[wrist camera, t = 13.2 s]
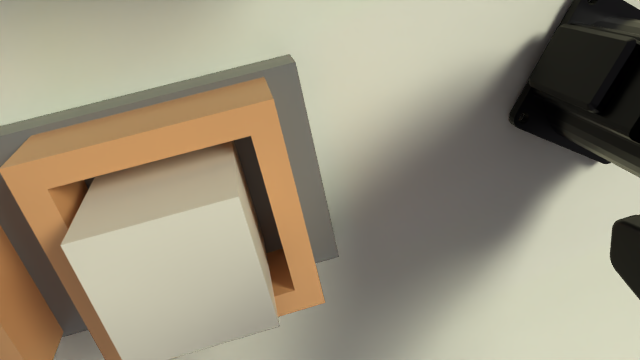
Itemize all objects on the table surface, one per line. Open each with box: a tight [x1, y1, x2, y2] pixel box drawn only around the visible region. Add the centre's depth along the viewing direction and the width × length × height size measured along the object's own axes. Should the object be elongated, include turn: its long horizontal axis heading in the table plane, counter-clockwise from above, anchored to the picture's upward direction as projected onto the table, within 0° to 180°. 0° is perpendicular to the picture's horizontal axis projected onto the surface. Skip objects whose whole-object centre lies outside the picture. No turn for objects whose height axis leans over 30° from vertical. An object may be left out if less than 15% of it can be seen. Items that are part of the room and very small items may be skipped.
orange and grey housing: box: [0, 54, 339, 360], centre depth 17 cm, size 21×9×7 cm, turn 102°
